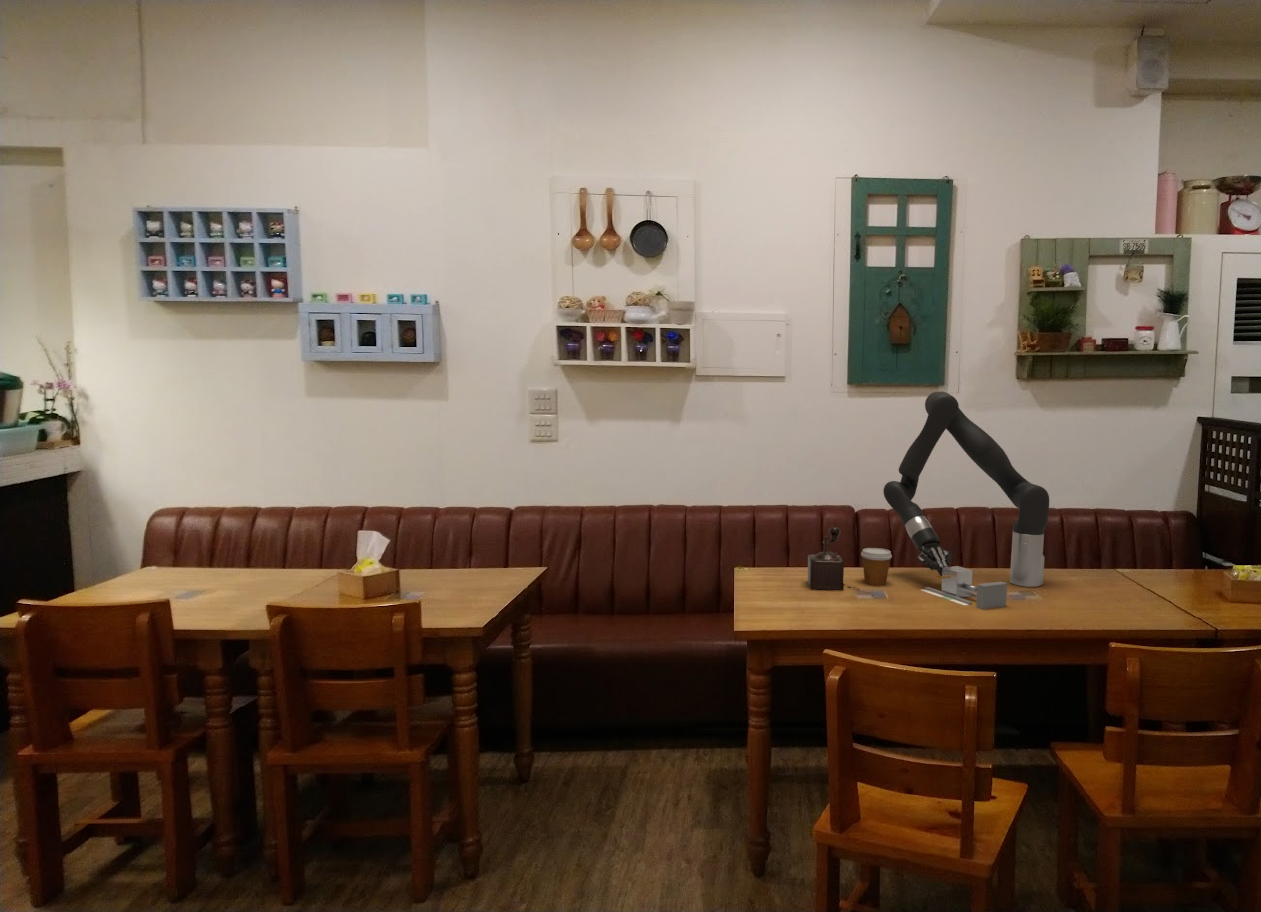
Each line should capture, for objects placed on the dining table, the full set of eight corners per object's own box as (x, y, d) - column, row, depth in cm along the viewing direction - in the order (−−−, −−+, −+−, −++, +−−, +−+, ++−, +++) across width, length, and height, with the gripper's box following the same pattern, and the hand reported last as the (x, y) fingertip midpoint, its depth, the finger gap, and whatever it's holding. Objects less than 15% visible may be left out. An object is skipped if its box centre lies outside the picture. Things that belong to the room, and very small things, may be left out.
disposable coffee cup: (892, 592, 253) (893, 554, 252) (861, 590, 255) (862, 553, 253) (888, 584, 262) (890, 548, 261) (858, 582, 264) (860, 546, 263)
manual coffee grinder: (845, 591, 253) (848, 535, 252) (810, 590, 255) (812, 534, 253) (838, 578, 269) (840, 526, 267) (804, 577, 270) (806, 525, 268)
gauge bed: (950, 589, 256) (952, 564, 255) (1012, 610, 234) (1014, 582, 233) (916, 593, 251) (917, 568, 250) (976, 615, 229) (977, 587, 228)
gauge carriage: (956, 591, 249) (957, 566, 248) (984, 600, 239) (985, 574, 238) (928, 594, 245) (929, 568, 244) (955, 604, 235) (957, 577, 234)
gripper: (911, 528, 253) (938, 575, 243) (944, 525, 258) (971, 571, 248) (899, 541, 258) (924, 587, 248) (931, 538, 263) (957, 584, 253)
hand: (948, 579), depth 248 cm, fingers closed
